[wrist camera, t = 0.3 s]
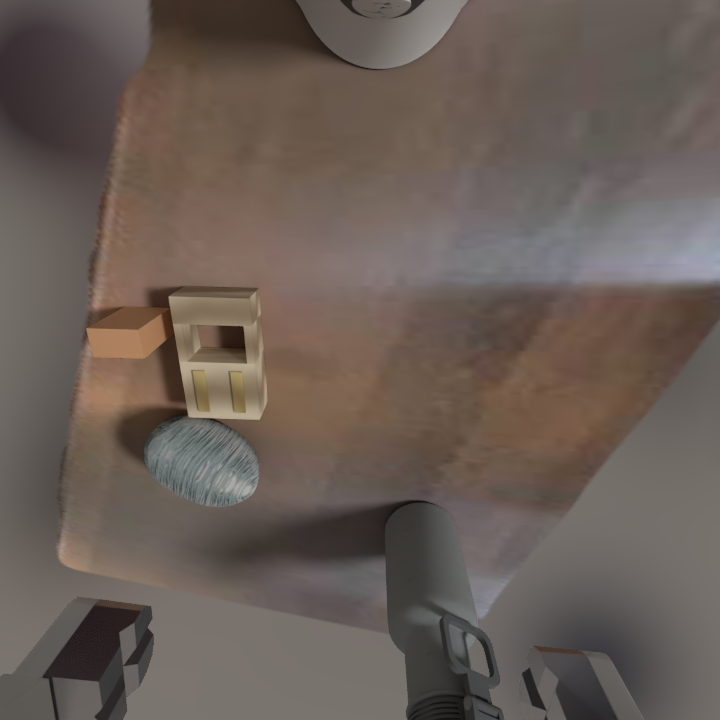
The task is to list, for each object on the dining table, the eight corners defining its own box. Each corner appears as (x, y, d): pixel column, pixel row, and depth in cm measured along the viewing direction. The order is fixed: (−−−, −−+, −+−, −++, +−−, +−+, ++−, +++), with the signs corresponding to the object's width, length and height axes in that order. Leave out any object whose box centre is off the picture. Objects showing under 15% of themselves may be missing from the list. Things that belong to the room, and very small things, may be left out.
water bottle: (414, 485, 56) (450, 752, 30) (471, 518, 58) (550, 793, 32) (370, 532, 59) (370, 806, 34) (426, 561, 61) (464, 839, 36)
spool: (127, 459, 51) (122, 495, 42) (169, 390, 52) (173, 412, 43) (228, 496, 57) (242, 534, 49) (264, 434, 58) (284, 461, 49)
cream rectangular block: (184, 286, 45) (166, 297, 42) (258, 288, 45) (248, 299, 41) (201, 399, 51) (187, 418, 47) (267, 401, 51) (258, 421, 47)
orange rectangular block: (125, 306, 47) (86, 328, 40) (170, 307, 47) (138, 329, 40) (130, 331, 48) (93, 357, 41) (174, 333, 48) (144, 358, 41)
